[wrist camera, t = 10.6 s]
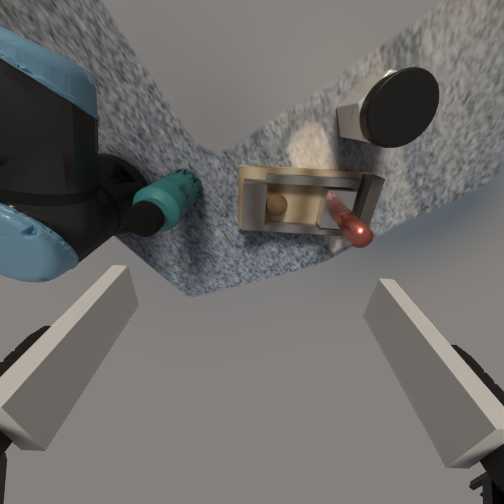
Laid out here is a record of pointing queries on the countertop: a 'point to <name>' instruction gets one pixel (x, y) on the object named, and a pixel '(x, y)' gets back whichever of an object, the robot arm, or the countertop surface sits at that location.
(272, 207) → the nut
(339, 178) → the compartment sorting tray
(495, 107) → the countertop surface
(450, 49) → the countertop surface
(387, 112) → the jar
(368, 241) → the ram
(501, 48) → the countertop surface
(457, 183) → the countertop surface
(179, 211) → the beverage bottle
